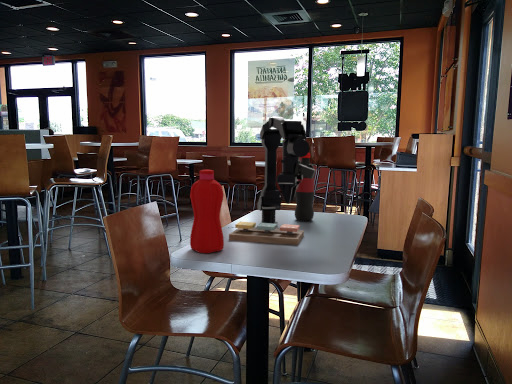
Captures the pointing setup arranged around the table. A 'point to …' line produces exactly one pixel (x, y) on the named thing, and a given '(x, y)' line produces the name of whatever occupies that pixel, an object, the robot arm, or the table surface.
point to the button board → (267, 236)
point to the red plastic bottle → (206, 214)
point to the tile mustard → (245, 225)
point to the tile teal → (267, 227)
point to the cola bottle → (305, 195)
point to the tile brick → (289, 228)
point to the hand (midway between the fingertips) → (290, 202)
